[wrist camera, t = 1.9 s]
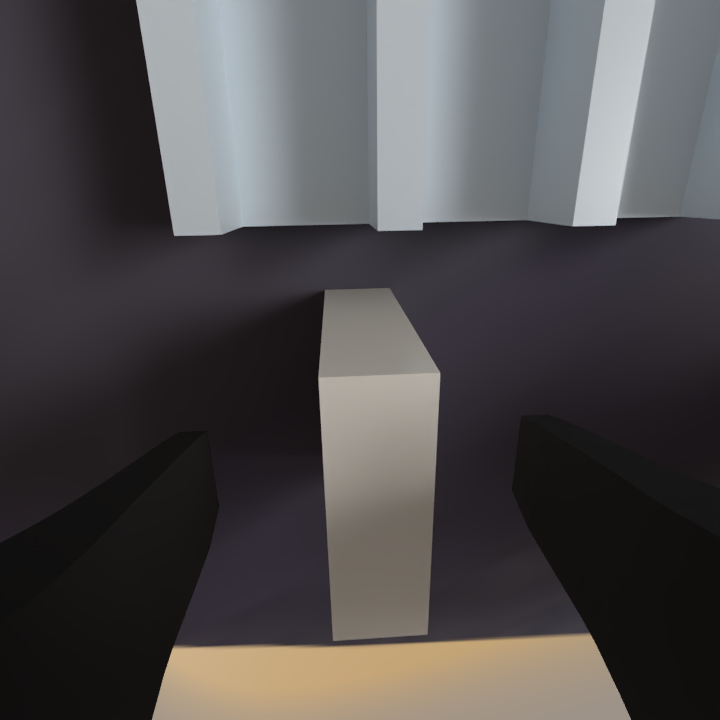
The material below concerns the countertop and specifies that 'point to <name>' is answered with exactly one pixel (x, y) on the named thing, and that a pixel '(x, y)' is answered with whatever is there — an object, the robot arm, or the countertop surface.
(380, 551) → the cream tile
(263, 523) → the countertop surface
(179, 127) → the drying rack
